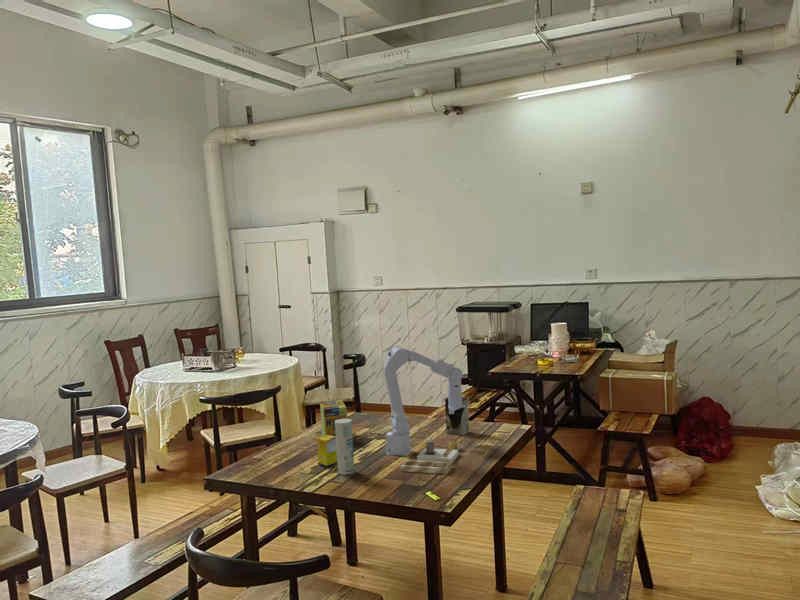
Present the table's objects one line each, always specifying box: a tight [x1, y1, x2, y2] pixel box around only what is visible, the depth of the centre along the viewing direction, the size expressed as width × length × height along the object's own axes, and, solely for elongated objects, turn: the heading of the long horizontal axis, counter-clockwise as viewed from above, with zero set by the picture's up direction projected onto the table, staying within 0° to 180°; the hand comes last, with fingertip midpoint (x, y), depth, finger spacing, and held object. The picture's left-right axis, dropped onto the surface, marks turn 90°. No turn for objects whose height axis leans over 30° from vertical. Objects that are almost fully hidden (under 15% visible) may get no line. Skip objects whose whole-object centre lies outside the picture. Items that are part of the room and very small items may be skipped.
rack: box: [400, 459, 452, 475], centre depth 233 cm, size 18×7×2 cm, turn 71°
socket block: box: [416, 447, 459, 465], centre depth 245 cm, size 14×11×2 cm
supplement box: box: [316, 435, 338, 468], centre depth 247 cm, size 6×6×11 cm
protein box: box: [319, 399, 348, 437], centre depth 283 cm, size 10×15×16 cm
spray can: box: [335, 418, 355, 476], centre depth 236 cm, size 6×6×20 cm
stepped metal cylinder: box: [425, 438, 435, 455], centre depth 246 cm, size 3×3×8 cm
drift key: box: [445, 439, 459, 457], centre depth 250 cm, size 4×11×4 cm, turn 161°
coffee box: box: [444, 396, 470, 436], centre depth 280 cm, size 9×6×16 cm
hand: (456, 426), depth 260 cm, fingers open, 5 cm apart
